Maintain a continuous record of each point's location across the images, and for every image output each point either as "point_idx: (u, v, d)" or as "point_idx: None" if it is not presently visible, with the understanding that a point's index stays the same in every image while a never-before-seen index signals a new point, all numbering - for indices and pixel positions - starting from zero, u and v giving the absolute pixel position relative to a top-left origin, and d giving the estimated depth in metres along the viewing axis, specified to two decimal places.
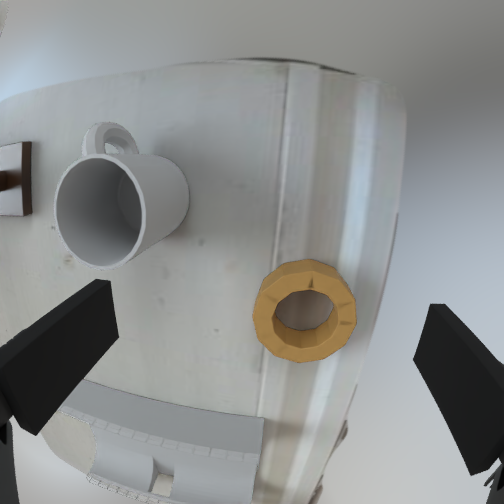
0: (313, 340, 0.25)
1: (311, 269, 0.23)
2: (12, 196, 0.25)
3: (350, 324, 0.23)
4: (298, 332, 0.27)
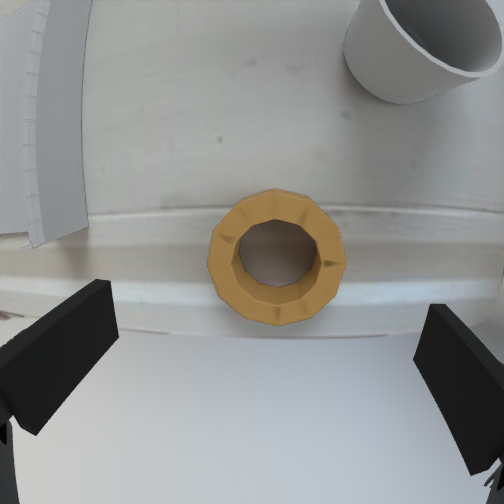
0: (239, 275, 0.20)
1: None
2: None
3: (275, 319, 0.19)
4: (238, 250, 0.21)
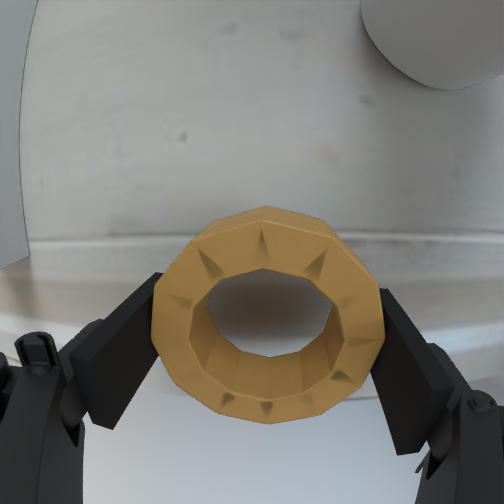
0: (206, 351, 0.12)
1: None
2: None
3: (264, 416, 0.11)
4: (206, 306, 0.13)
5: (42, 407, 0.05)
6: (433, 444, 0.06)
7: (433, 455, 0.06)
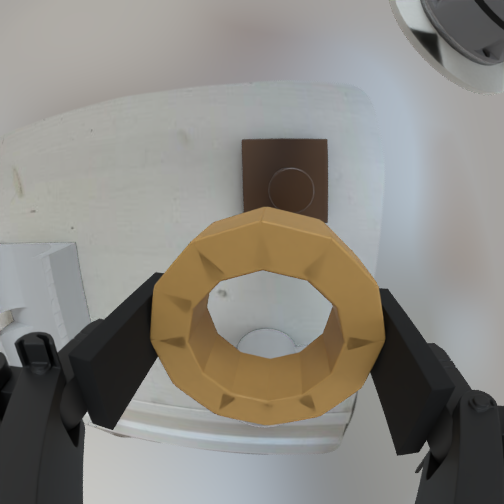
0: (206, 352, 0.12)
1: None
2: (266, 203, 0.29)
3: (264, 418, 0.11)
4: (205, 307, 0.13)
5: (42, 407, 0.05)
6: (433, 444, 0.06)
7: (433, 456, 0.06)
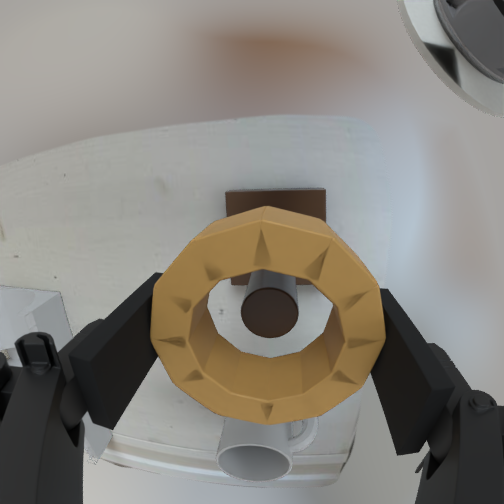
0: (206, 352, 0.11)
1: None
2: None
3: (264, 417, 0.11)
4: (205, 306, 0.13)
5: (42, 407, 0.05)
6: (433, 444, 0.06)
7: (433, 455, 0.06)
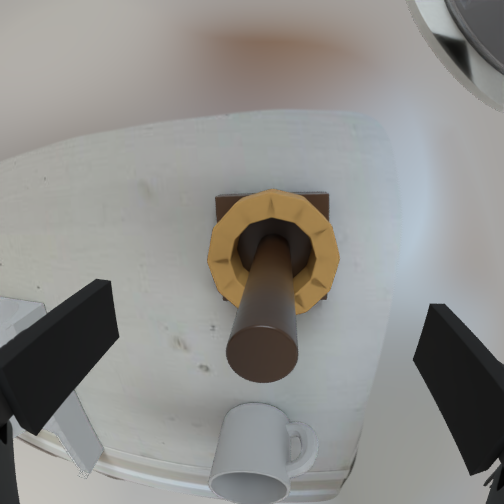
0: (238, 271, 0.21)
1: (338, 256, 0.19)
2: None
3: None
4: (236, 248, 0.22)
5: None
6: None
7: None
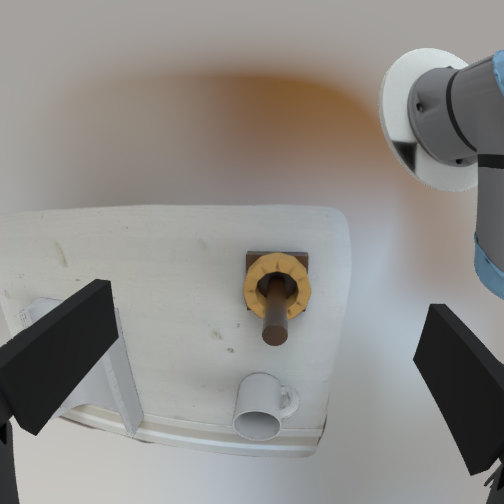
0: (258, 296, 0.39)
1: (310, 290, 0.37)
2: None
3: None
4: None
5: None
6: None
7: None
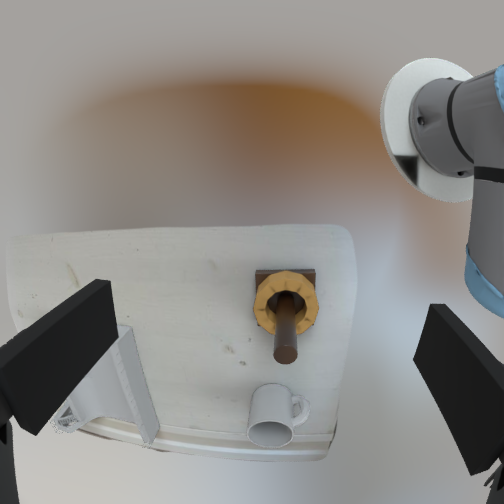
0: (268, 313, 0.40)
1: (318, 306, 0.38)
2: None
3: None
4: None
5: None
6: None
7: None
